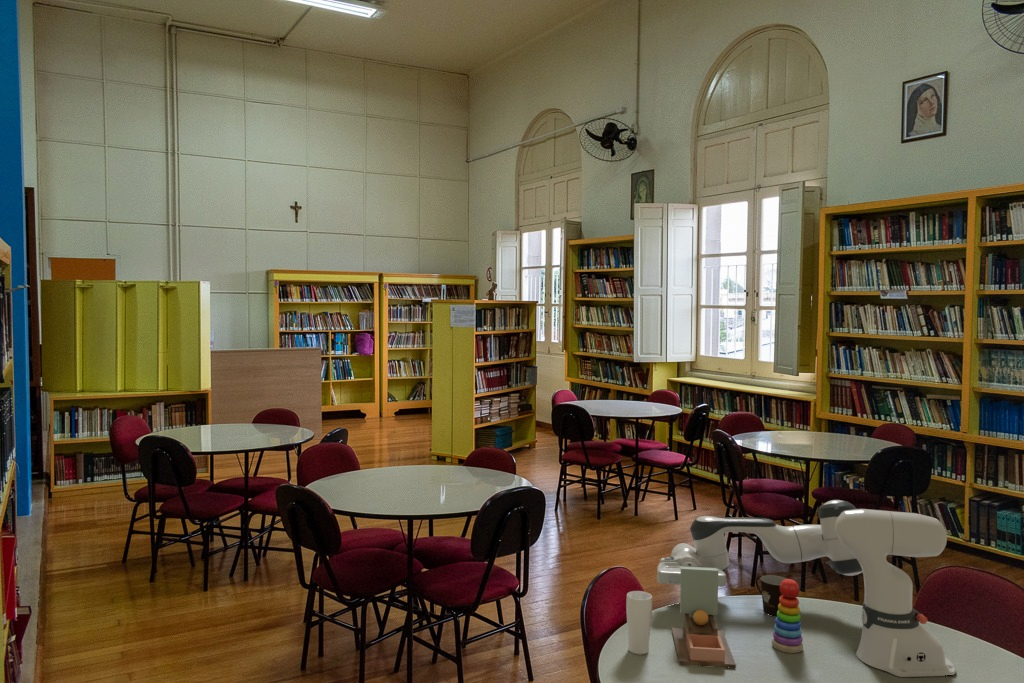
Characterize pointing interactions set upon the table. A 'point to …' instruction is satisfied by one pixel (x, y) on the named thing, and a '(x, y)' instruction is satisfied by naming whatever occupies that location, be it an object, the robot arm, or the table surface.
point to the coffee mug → (770, 592)
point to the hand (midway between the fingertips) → (693, 585)
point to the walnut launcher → (694, 628)
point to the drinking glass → (638, 621)
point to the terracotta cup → (705, 648)
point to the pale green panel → (699, 590)
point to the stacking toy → (788, 619)
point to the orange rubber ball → (700, 617)
